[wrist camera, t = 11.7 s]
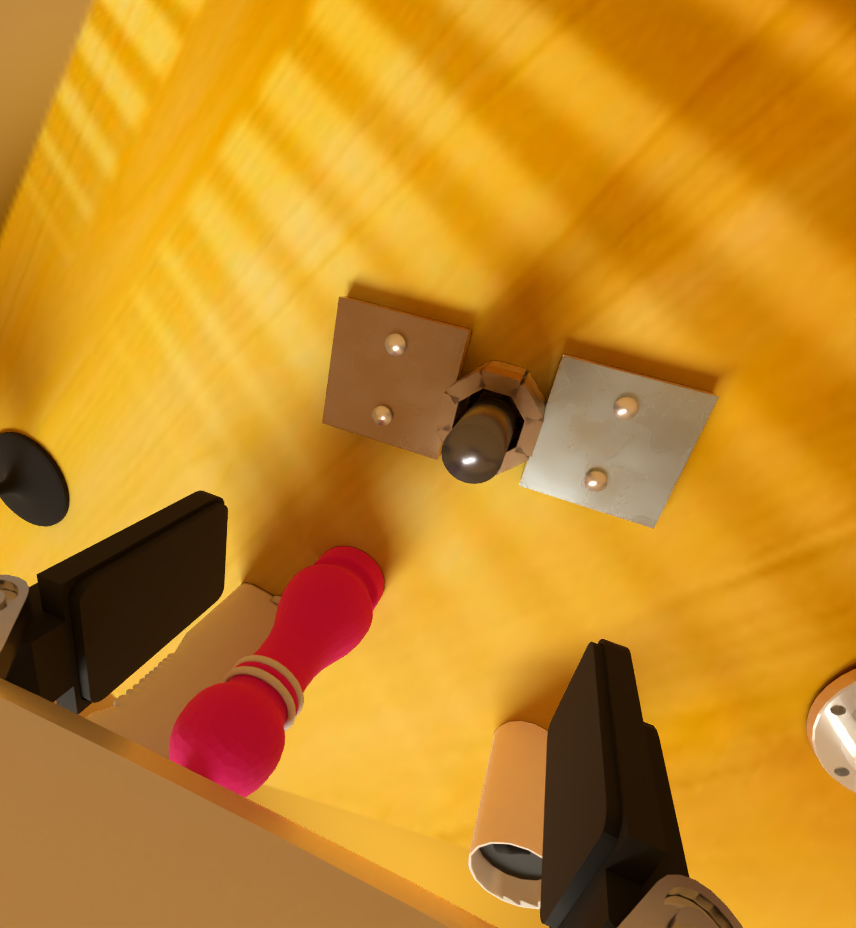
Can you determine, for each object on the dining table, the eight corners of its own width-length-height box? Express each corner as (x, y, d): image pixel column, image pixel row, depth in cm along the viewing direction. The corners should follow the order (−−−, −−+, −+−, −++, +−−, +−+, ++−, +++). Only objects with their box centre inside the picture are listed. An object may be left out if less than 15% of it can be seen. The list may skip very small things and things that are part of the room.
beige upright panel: (231, 595, 44) (-42, 841, 24) (244, 567, 42) (-39, 808, 22) (320, 658, 43) (117, 961, 24) (337, 632, 42) (133, 937, 22)
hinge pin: (526, 393, 30) (511, 434, 21) (513, 434, 31) (493, 491, 22) (482, 381, 30) (449, 416, 21) (471, 422, 31) (435, 472, 22)
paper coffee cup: (473, 739, 42) (449, 862, 33) (519, 704, 39) (506, 828, 30) (531, 784, 42) (522, 919, 32) (580, 752, 39) (587, 890, 30)
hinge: (712, 392, 27) (740, 410, 23) (650, 520, 30) (664, 555, 26) (346, 296, 31) (313, 296, 27) (329, 419, 34) (297, 435, 30)
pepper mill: (319, 528, 38) (102, 735, 20) (398, 558, 37) (242, 806, 19) (308, 594, 41) (110, 826, 23) (381, 623, 40) (232, 893, 22)
